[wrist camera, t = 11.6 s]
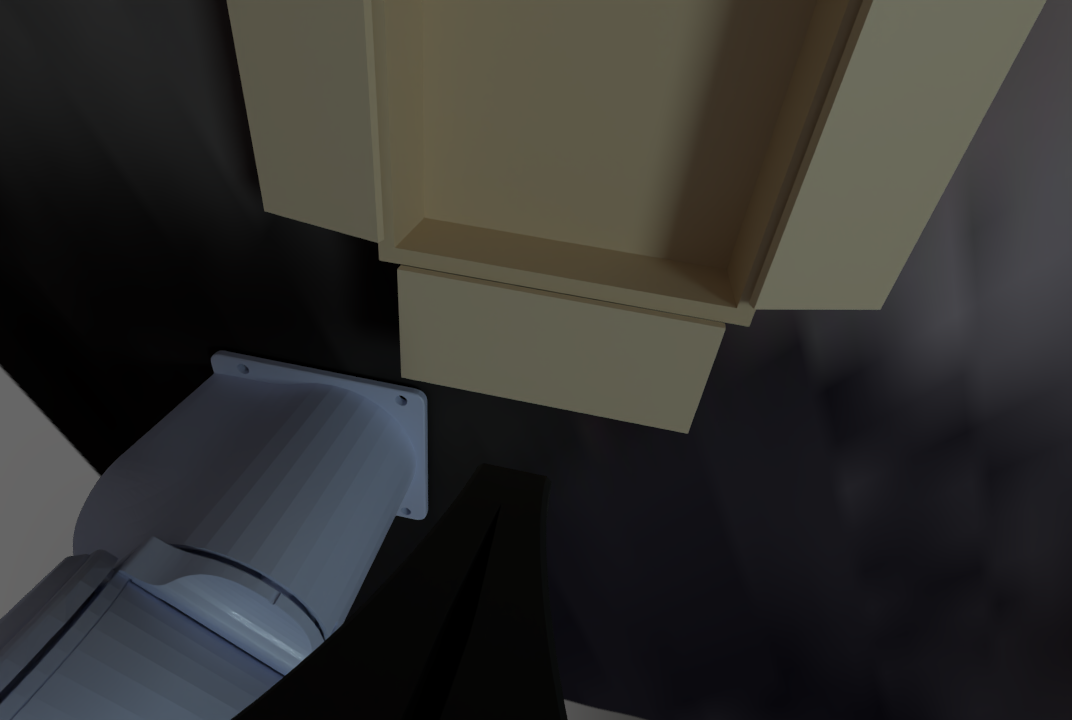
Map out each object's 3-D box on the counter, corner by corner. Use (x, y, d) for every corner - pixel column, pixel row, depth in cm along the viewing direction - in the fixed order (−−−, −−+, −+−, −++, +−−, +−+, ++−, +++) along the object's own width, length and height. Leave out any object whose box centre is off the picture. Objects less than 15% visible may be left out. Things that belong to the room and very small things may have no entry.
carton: (416, 323, 21) (381, 373, 19) (392, -862, 9) (274, -1252, 6) (702, 377, 20) (709, 437, 18) (1136, -855, 8) (1395, -1309, 5)
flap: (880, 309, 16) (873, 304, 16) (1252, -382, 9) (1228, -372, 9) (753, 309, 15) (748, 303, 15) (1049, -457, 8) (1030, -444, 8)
